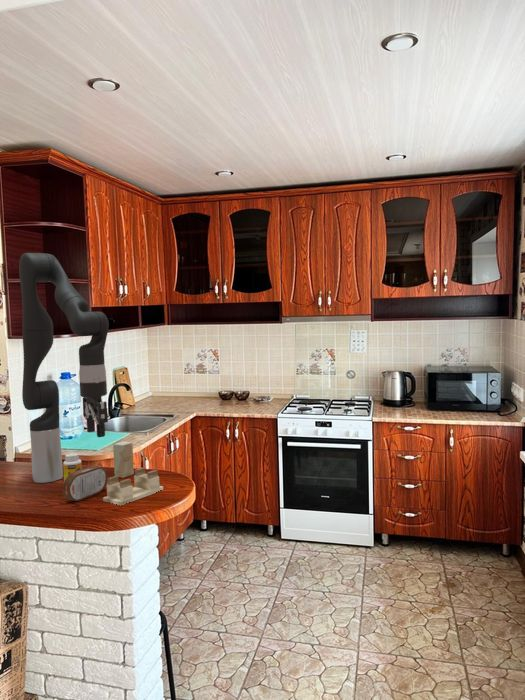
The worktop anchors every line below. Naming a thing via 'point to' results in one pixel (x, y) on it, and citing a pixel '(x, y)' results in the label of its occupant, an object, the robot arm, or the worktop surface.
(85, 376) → the robot arm
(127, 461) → the box
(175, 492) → the worktop surface
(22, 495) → the worktop surface
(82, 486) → the tin
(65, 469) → the supplement bottle
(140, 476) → the cradle
